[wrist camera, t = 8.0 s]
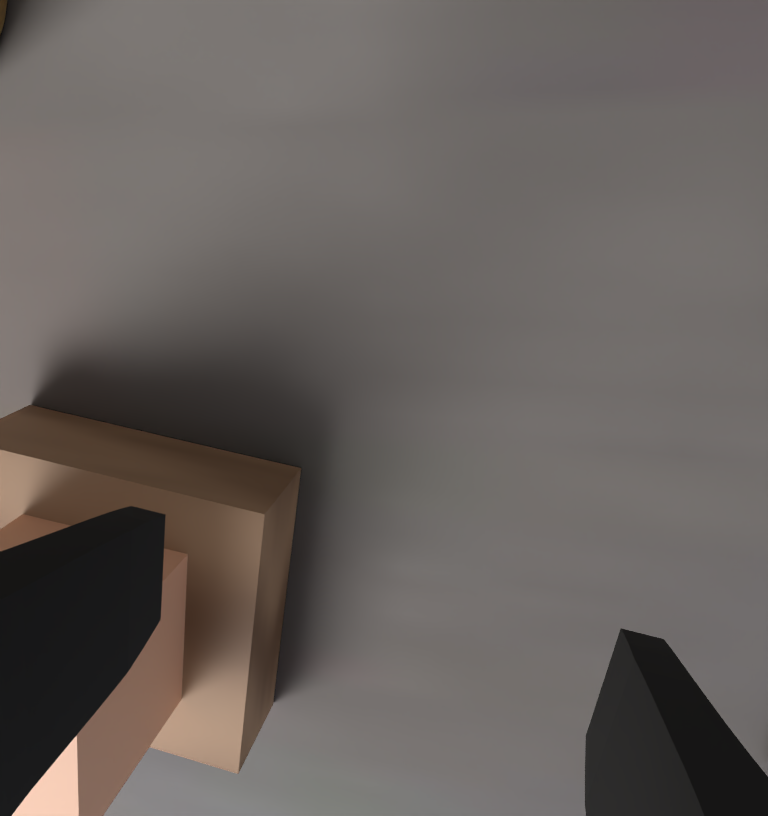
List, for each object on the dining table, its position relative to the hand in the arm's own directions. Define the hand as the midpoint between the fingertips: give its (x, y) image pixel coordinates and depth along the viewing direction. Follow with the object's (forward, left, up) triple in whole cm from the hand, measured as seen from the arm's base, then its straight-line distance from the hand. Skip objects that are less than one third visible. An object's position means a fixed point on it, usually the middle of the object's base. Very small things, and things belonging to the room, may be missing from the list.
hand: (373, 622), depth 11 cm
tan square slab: (-7, +9, -9) cm, 14 cm away
